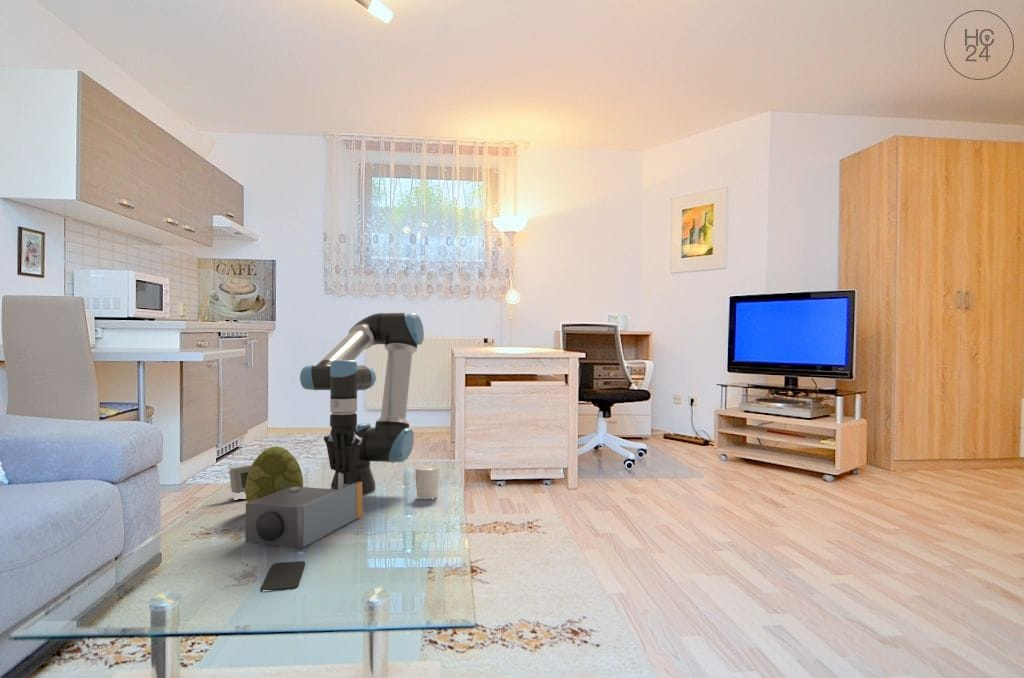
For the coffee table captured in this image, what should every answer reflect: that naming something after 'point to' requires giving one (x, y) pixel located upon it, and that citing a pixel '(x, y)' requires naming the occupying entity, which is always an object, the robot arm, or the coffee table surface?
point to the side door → (328, 513)
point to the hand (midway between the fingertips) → (343, 494)
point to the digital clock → (239, 478)
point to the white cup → (427, 481)
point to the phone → (284, 576)
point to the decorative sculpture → (272, 473)
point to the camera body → (278, 515)
